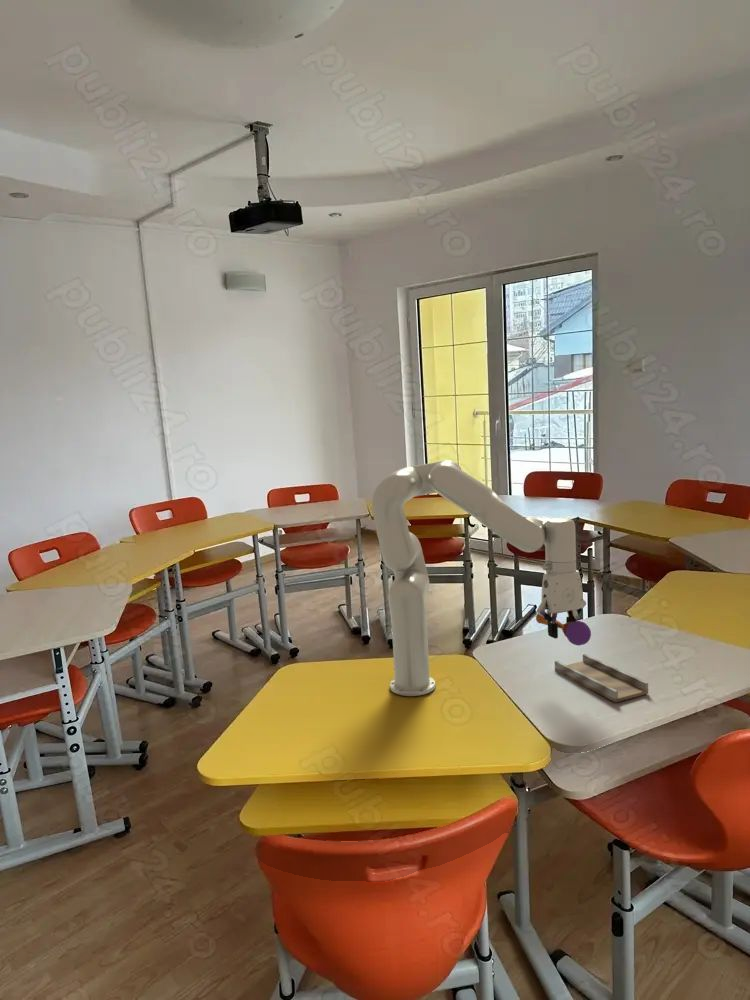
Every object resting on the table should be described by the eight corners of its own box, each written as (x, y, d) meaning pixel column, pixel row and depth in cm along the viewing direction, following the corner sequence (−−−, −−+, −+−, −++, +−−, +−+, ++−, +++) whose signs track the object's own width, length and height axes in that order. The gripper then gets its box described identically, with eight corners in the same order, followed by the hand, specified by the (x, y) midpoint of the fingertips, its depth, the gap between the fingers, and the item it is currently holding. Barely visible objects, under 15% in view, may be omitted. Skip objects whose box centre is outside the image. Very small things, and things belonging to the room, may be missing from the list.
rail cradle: (554, 670, 188) (554, 661, 188) (585, 663, 192) (584, 654, 192) (615, 702, 166) (615, 691, 166) (648, 693, 170) (648, 682, 170)
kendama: (551, 606, 183) (597, 624, 164) (549, 628, 183) (594, 648, 164) (532, 606, 181) (576, 623, 162) (530, 628, 182) (573, 648, 163)
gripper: (541, 574, 164) (543, 645, 166) (597, 564, 170) (598, 633, 173) (524, 568, 171) (526, 636, 173) (578, 559, 177) (579, 625, 180)
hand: (562, 634), depth 173 cm, fingers closed on kendama, 5 cm apart
